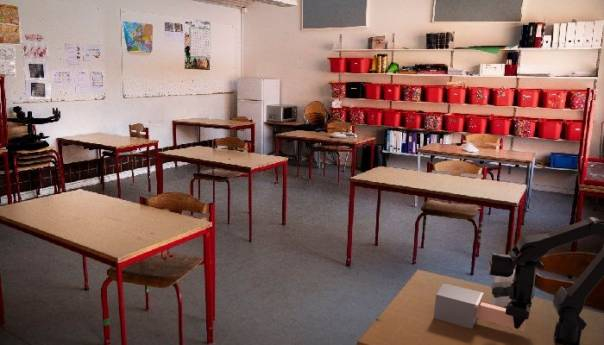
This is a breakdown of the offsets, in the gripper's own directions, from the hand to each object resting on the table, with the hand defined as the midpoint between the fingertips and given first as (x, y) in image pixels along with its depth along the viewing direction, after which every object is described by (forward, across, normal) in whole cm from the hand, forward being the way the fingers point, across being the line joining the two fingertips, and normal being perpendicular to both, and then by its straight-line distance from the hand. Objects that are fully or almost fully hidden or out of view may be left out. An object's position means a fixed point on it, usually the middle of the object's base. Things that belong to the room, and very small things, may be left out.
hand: (516, 326), depth 153 cm
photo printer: (+2, -19, -6) cm, 20 cm away
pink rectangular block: (0, 0, -6) cm, 6 cm away
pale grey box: (+2, 0, -18) cm, 18 cm away
